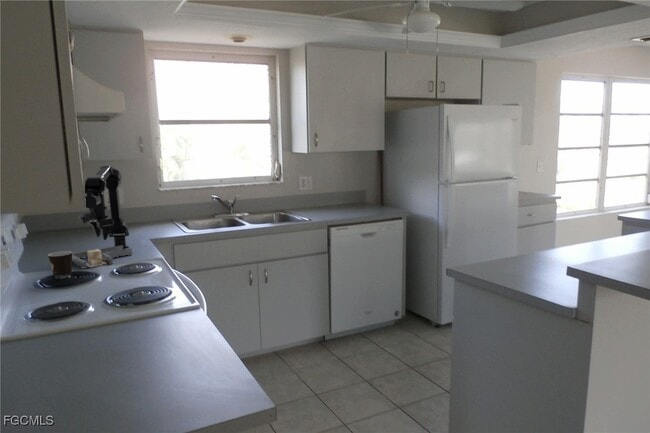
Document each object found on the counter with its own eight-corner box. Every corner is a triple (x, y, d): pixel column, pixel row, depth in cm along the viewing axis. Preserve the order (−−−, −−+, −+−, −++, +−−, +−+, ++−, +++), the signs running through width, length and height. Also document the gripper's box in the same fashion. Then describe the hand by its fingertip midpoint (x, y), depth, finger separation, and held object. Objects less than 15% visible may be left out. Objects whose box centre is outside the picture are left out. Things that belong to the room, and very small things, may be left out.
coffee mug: (53, 275, 196) (50, 252, 195) (76, 273, 199) (73, 250, 198) (47, 283, 186) (44, 258, 184) (72, 280, 189) (69, 256, 187)
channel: (68, 260, 221) (67, 254, 221) (122, 250, 239) (121, 244, 238) (84, 269, 206) (83, 262, 205) (140, 258, 223) (140, 251, 222)
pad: (83, 264, 212) (83, 264, 212) (102, 261, 218) (102, 260, 218) (89, 267, 207) (88, 266, 207) (107, 264, 213) (107, 263, 213)
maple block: (99, 261, 216) (97, 249, 215) (102, 263, 213) (101, 250, 212) (88, 263, 213) (87, 250, 212) (91, 265, 209) (90, 252, 208)
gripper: (72, 204, 215) (76, 237, 218) (85, 209, 201) (89, 244, 204) (97, 201, 222) (101, 233, 225) (112, 206, 209) (116, 240, 212)
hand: (101, 238), depth 217 cm, fingers open, 9 cm apart
